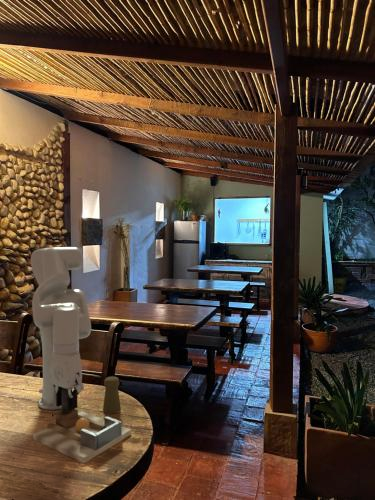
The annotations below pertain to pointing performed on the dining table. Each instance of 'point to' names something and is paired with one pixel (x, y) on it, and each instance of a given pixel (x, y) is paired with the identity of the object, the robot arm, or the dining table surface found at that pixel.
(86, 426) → the ball
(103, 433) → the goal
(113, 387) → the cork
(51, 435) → the lane board
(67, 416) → the player block
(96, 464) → the dining table surface
